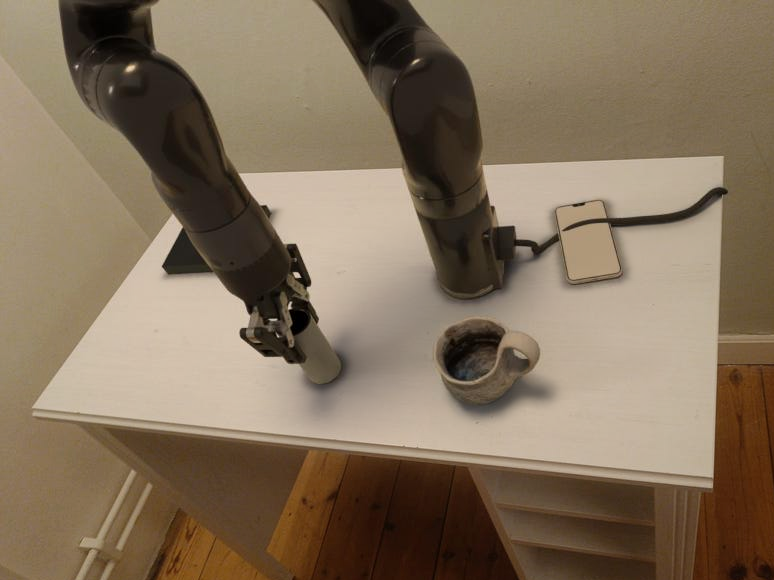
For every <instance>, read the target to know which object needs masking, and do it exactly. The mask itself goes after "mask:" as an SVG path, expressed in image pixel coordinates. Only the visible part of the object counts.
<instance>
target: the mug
mask: <svg viewBox="0 0 774 580" xmlns="http://www.w3.org/2000/svg"><path fill="white" fill-rule="evenodd" d="M432 350H433V351H432V359H433V362H434V365H435V367H436V369H437V371H438V373H439V374H440V377H441V381H442V383H443V385H444V386H445V388H446V389H447V390H448V391H449V392H450V394H452V395H453V396H454V397H455V398H456V399H457V400H458V401H460V402H461V403H462V402H463V403H465V404H467V405H471V406H477V405H479V406H480V405H486V404H488V403H491V402H492V401H495V400H497V399H498V398H500V397H501V396H503V395H504V394H505V393H507V391H508V390H509V389H510V388H511V387H512V385H513V384H514V382H515V380H516V379H517V378H519V377H522V376H525V375H527V374H529V373H530V372H531V371H533V369H535V367H536V366H537V364H538V363H539V360H540V357H541V348H540V346H539V343H538V342H537V340H536V339H534V338H533V337H532V336H531V335H529V334H528V333H525V332H524V331H520V330H514V329H513V330H512V329H511V330H510V329H509V327H508V326H507V325H506V324H505V323H504V322H502V321H500V320H499V319H497V318H494V317H488V316H484V315H483V316H473V317H467V318H466V317H465V318H462V319H460V320H457V321H455V322H453V323H451V324H449V325H447V326H446V327H445V328H444V329H443V330H442V331H441V332H440V333H439V335H438V336H437V338H436V340H435V342H434V344H433V349H432ZM515 351H517V352H519V353H521V354H522V355H523V356H524V357H525V358H521V357H519V356H517V355H516V353H515Z"/></svg>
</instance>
